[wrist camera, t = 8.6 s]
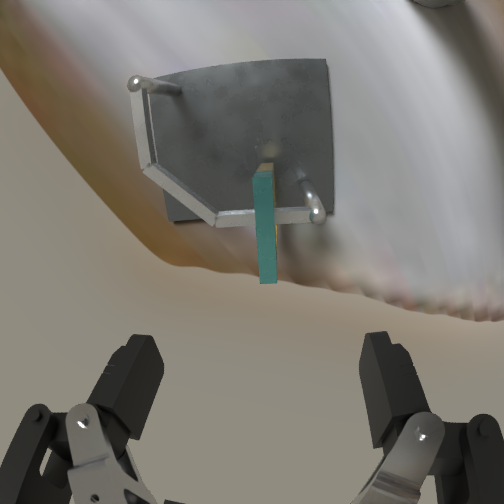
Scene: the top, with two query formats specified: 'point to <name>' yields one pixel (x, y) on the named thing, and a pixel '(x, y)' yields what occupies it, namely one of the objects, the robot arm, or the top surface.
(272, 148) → the rod stand
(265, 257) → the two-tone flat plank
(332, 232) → the top surface
